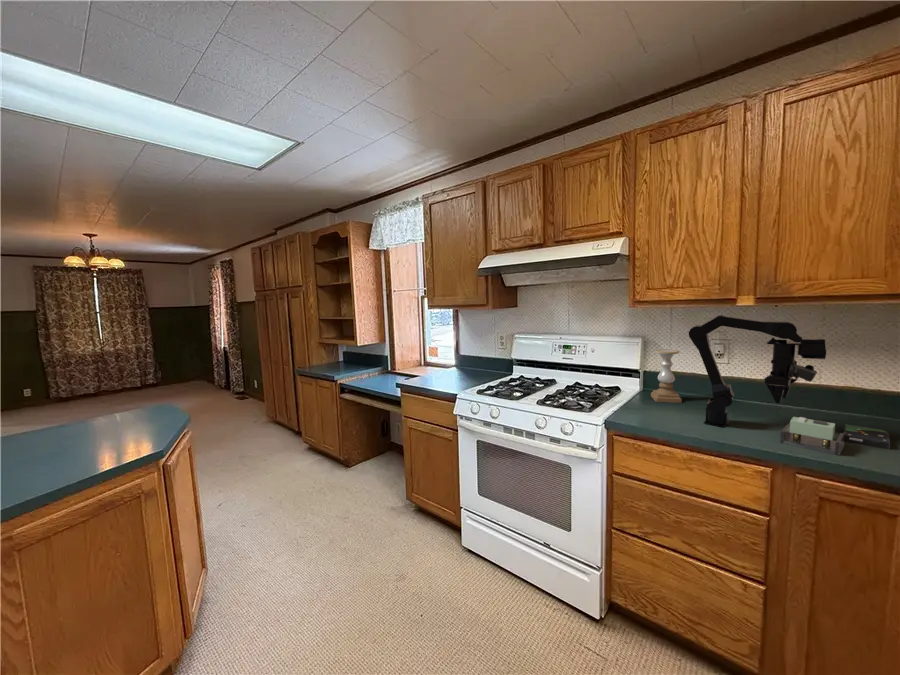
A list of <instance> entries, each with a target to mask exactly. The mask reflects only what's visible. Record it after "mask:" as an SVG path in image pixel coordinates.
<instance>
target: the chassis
mask: <svg viewBox="0 0 900 675" xmlns="http://www.w3.org/2000/svg"><path fill="white" fill-rule="evenodd" d="M843 433H844V432H840V433H839V435H838V437H837V439H836V440H834V439H833V440H827V439H822V438H817V437H811V436H806V435H801V434H796V433H790V423H787V424H786V425H785V426H784V427H783V429H781V430H780V439H779V441H778V442H779V443H781V444H785V445H789V446H794V447H799V448H801V449H802V448H804V449H808V450H813V451H816V450H817V451H818V452H821V451H822V452H823V453H827V454H830V453H831V454H830V455H836V456H840V455H841V453H842V451H843V449H844V447H845V441H844V434H843ZM817 451H816V452H817Z"/></svg>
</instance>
